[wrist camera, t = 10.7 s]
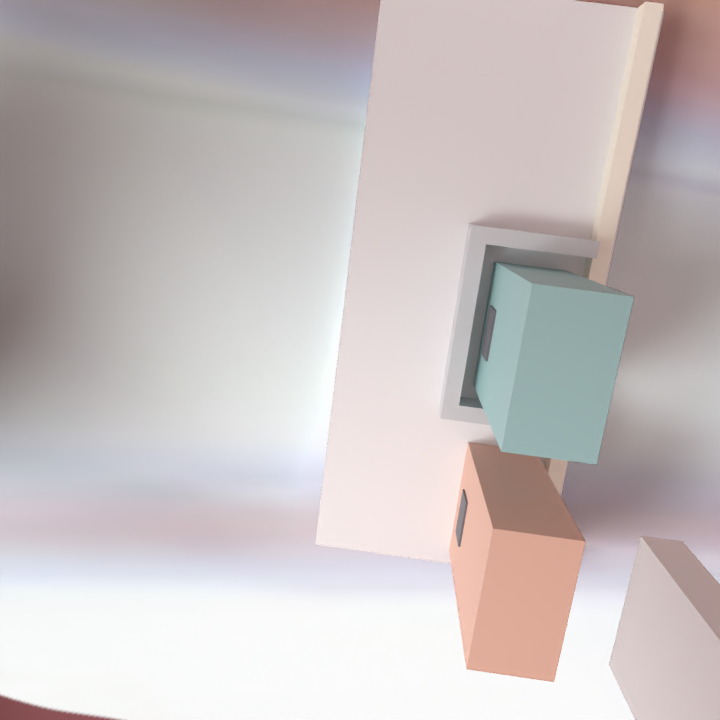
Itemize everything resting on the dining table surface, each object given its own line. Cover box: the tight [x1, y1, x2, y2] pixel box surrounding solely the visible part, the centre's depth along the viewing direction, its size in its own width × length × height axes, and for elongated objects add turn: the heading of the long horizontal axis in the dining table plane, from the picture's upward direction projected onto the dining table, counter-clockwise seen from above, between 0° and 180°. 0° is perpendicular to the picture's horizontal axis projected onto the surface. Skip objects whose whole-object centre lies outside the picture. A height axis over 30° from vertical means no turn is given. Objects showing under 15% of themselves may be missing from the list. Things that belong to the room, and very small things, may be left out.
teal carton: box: [473, 261, 634, 465], centre depth 36 cm, size 5×8×12 cm, turn 173°
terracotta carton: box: [449, 442, 586, 682], centre depth 39 cm, size 5×8×12 cm, turn 173°
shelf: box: [315, 0, 664, 564], centre depth 41 cm, size 16×36×4 cm, turn 173°
